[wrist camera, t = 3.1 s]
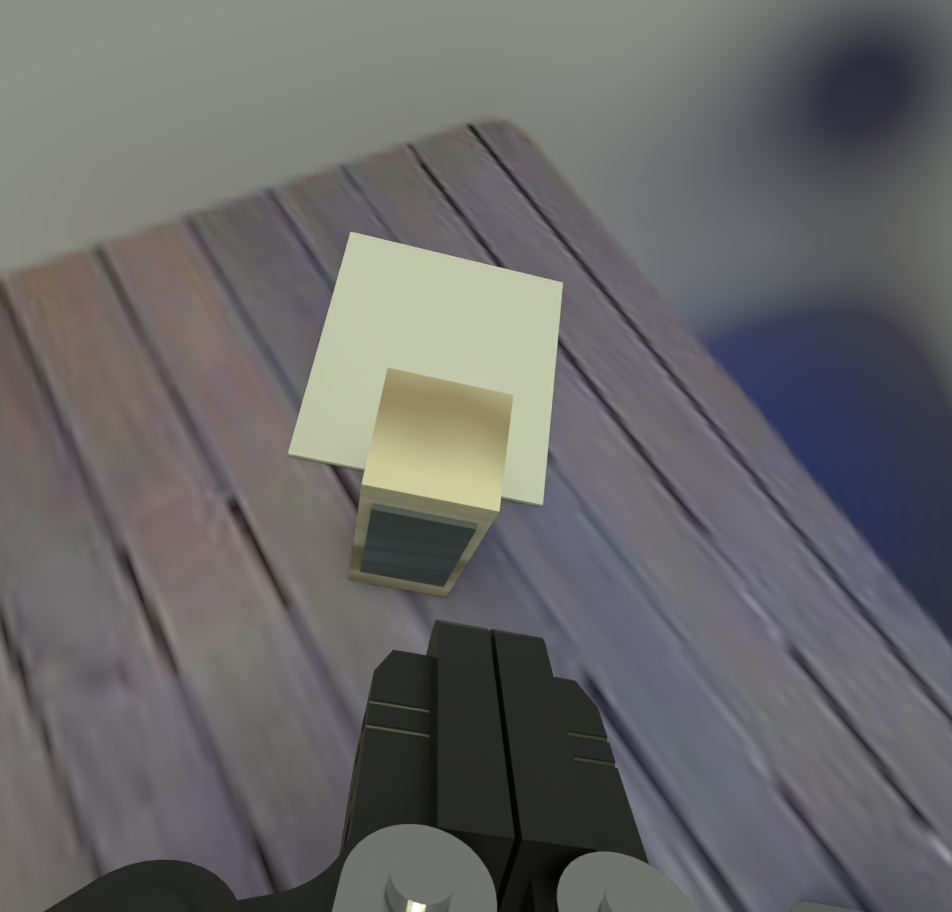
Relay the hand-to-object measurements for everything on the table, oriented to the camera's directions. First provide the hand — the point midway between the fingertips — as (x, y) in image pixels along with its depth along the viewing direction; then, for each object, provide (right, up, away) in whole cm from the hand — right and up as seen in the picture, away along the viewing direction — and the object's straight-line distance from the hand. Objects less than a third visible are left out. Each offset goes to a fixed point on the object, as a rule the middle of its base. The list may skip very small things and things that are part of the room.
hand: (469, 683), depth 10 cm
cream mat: (-2, +9, +32) cm, 34 cm away
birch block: (-4, -1, +27) cm, 27 cm away
